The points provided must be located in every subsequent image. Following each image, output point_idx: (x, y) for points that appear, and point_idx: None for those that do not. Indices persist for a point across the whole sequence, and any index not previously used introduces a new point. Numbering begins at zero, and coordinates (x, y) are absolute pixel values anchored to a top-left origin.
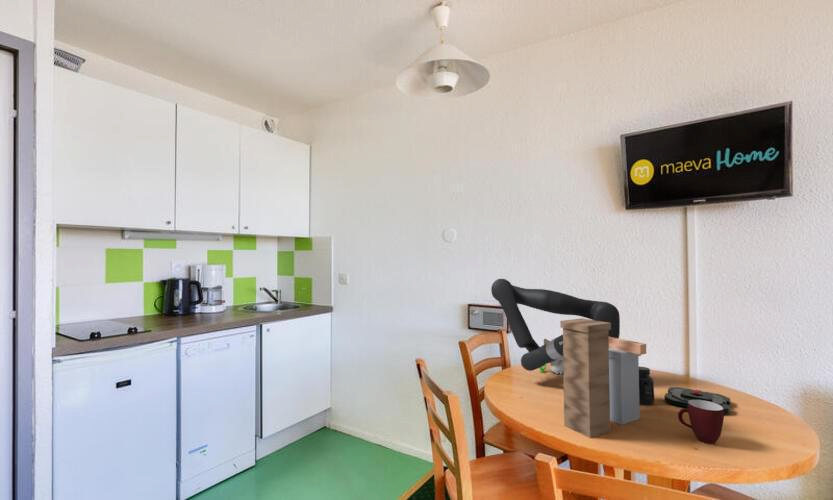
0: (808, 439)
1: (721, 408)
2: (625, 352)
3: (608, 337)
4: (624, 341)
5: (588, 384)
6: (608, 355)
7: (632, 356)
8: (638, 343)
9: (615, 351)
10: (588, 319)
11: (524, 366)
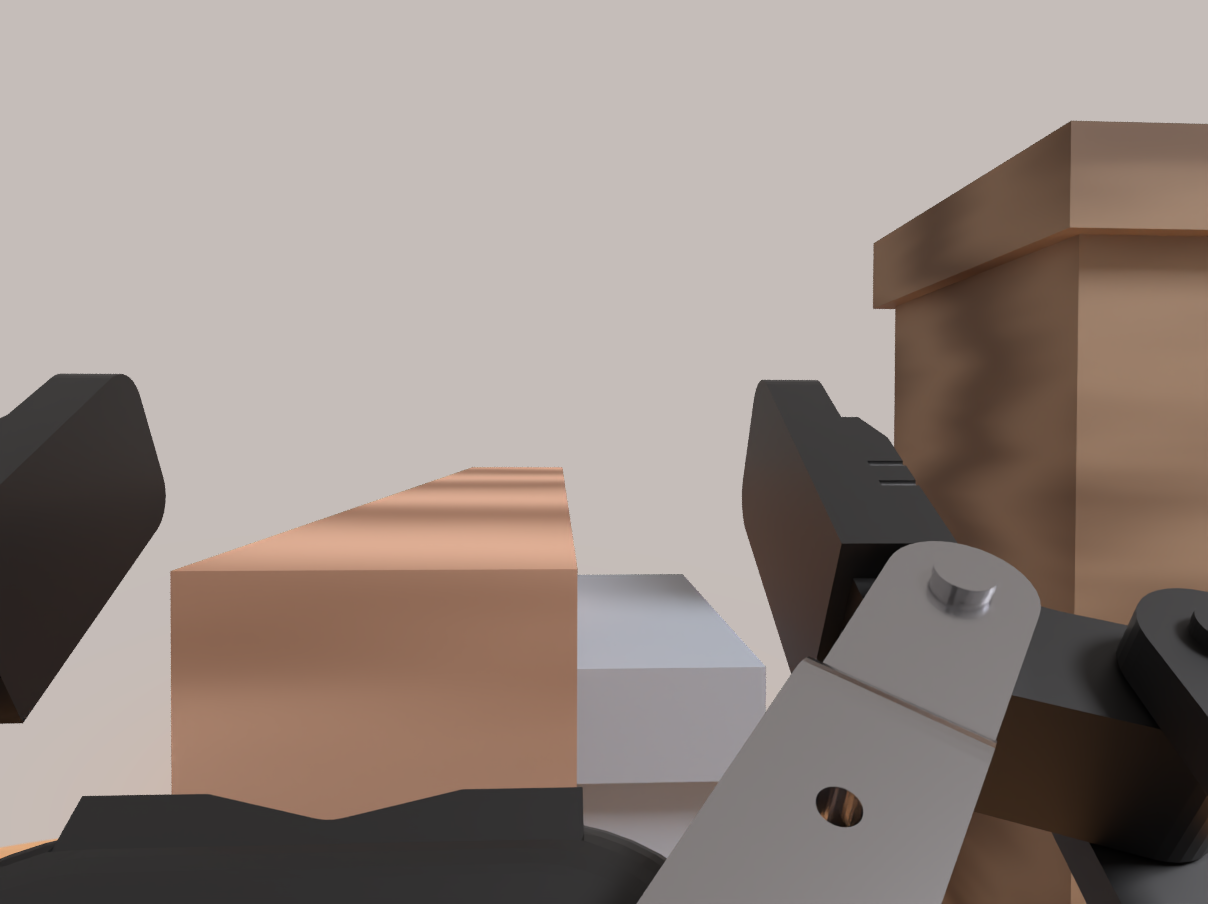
0: (22, 846)
1: None
2: (603, 575)
3: (895, 384)
4: (550, 473)
5: None
6: None
7: None
8: (518, 468)
9: (665, 588)
10: (1010, 163)
11: None
